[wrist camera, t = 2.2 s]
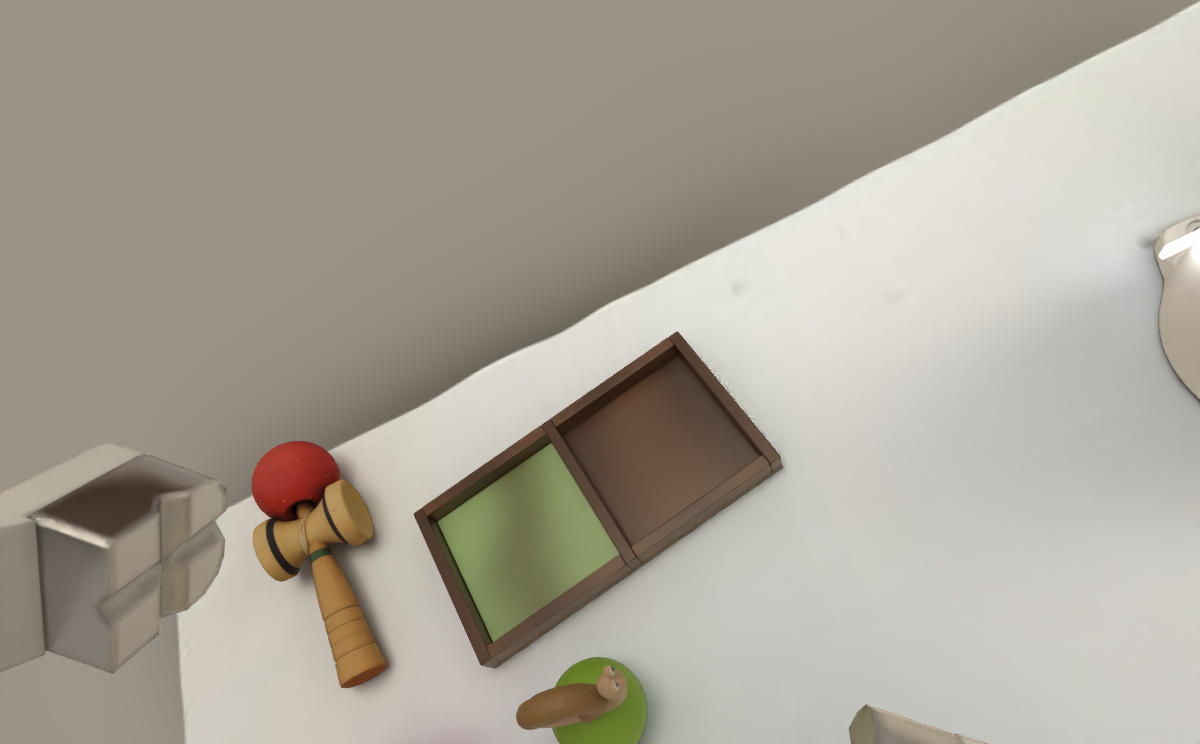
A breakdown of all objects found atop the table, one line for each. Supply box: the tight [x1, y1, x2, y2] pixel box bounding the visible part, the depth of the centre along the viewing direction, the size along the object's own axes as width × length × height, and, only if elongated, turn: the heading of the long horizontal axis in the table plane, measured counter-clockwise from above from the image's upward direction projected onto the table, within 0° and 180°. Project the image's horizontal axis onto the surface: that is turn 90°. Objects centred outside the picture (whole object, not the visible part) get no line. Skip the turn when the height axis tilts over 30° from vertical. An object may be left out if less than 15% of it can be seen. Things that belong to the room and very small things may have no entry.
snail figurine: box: [516, 657, 647, 744], centre depth 37 cm, size 5×6×12 cm
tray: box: [414, 332, 783, 668], centre depth 48 cm, size 22×12×2 cm, turn 120°
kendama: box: [252, 441, 386, 688], centre depth 50 cm, size 8×6×18 cm
